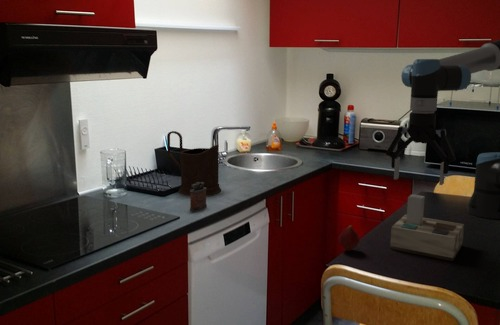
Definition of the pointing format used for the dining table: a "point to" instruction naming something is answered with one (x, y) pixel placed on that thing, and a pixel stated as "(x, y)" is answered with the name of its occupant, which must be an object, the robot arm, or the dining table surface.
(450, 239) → the socket board
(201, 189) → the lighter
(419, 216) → the plug
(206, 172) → the dark brown mug
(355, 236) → the onion
